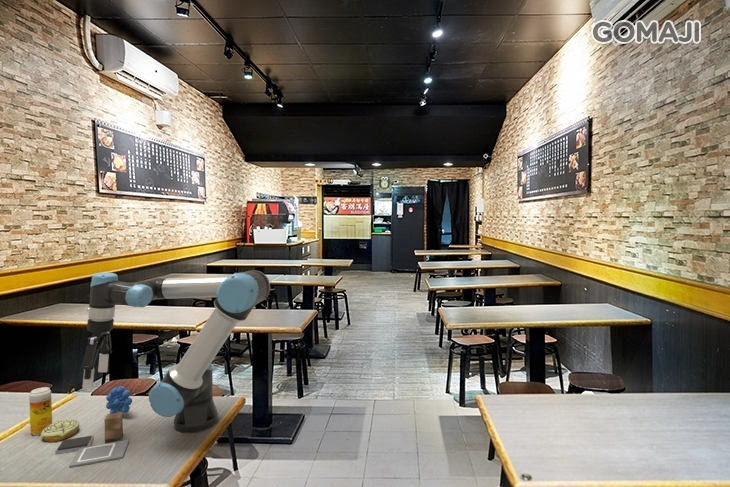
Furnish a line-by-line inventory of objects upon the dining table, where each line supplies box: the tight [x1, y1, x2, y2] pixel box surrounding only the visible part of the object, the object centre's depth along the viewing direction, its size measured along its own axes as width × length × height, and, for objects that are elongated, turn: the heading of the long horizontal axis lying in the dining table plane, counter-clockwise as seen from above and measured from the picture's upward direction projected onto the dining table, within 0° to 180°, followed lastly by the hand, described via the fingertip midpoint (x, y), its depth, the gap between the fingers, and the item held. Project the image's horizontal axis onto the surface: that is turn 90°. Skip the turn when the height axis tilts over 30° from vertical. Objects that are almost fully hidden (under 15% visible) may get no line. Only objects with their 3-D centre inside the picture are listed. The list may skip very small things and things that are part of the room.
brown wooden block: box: [103, 412, 124, 444], centre depth 142 cm, size 4×4×8 cm
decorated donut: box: [40, 419, 80, 443], centre depth 145 cm, size 10×11×4 cm
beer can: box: [28, 386, 53, 436], centre depth 147 cm, size 6×6×15 cm
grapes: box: [105, 385, 133, 416], centre depth 159 cm, size 12×7×12 cm, turn 75°
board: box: [68, 439, 130, 468], centre depth 132 cm, size 14×11×1 cm
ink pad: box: [54, 435, 95, 455], centre depth 137 cm, size 9×7×1 cm
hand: (95, 379), depth 142 cm, fingers open, 13 cm apart
